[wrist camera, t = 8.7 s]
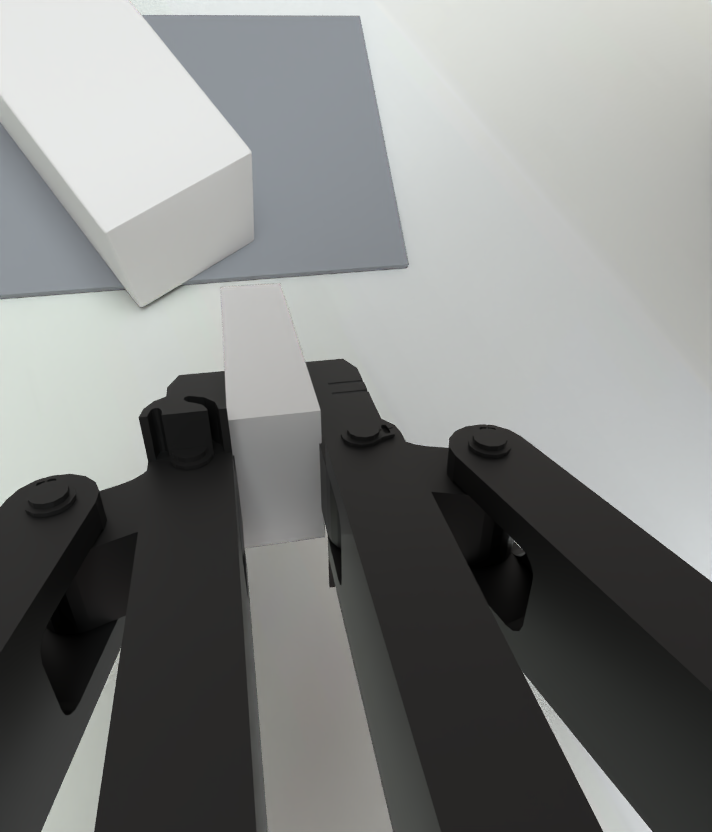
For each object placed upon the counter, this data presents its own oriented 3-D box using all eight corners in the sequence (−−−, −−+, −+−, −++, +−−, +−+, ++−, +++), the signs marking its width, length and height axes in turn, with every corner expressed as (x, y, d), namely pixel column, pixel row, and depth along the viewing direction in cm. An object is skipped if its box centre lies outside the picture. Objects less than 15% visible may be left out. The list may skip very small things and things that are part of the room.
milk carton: (142, 311, 30) (-60, 43, 32) (257, 242, 32) (59, -7, 34) (107, 236, 23) (-146, -98, 25) (255, 154, 25) (9, -151, 27)
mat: (358, 21, 37) (359, 15, 37) (406, 267, 34) (408, 264, 33) (-26, 20, 33) (-29, 14, 33) (-20, 300, 30) (-24, 296, 29)
